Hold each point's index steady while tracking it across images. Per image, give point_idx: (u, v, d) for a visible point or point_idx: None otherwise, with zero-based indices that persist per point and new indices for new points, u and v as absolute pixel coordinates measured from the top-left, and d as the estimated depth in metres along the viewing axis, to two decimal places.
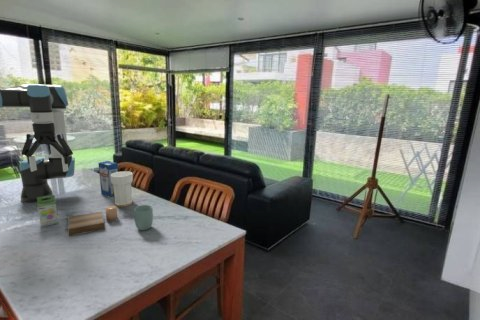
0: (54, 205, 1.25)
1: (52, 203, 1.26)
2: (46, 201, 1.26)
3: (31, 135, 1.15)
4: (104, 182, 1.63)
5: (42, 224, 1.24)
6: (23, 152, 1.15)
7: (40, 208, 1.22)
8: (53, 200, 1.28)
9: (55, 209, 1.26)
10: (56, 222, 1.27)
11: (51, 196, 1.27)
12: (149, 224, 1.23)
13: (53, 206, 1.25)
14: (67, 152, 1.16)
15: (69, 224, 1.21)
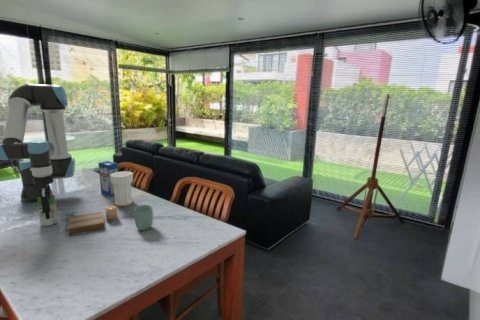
0: (54, 205, 1.25)
1: (52, 203, 1.26)
2: None
3: None
4: (104, 182, 1.63)
5: (42, 224, 1.24)
6: None
7: (40, 208, 1.22)
8: (53, 200, 1.28)
9: (55, 209, 1.26)
10: (56, 222, 1.27)
11: (51, 196, 1.27)
12: (149, 224, 1.23)
13: (53, 206, 1.25)
14: None
15: (69, 224, 1.21)
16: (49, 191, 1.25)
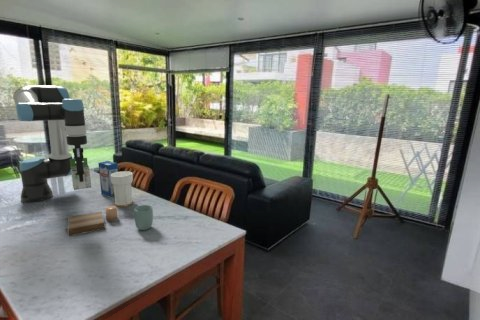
0: (87, 168, 1.20)
1: (85, 166, 1.21)
2: None
3: None
4: (104, 182, 1.63)
5: (75, 187, 1.19)
6: None
7: (73, 170, 1.17)
8: (86, 163, 1.23)
9: (88, 172, 1.21)
10: (89, 186, 1.22)
11: (84, 159, 1.22)
12: (149, 224, 1.23)
13: (86, 169, 1.20)
14: (77, 171, 1.15)
15: (69, 224, 1.21)
16: None
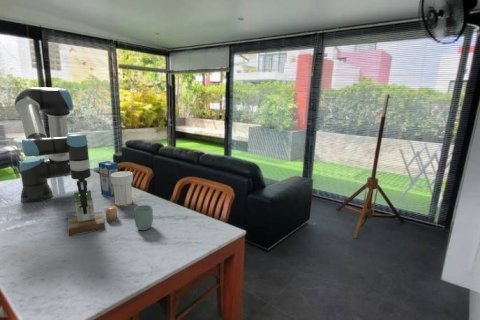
0: (91, 201, 1.23)
1: (89, 199, 1.24)
2: None
3: None
4: (104, 182, 1.63)
5: (79, 220, 1.22)
6: None
7: (77, 203, 1.20)
8: (89, 196, 1.26)
9: (92, 205, 1.24)
10: (92, 218, 1.25)
11: (87, 191, 1.25)
12: (149, 224, 1.23)
13: (90, 202, 1.23)
14: None
15: (69, 224, 1.21)
16: None
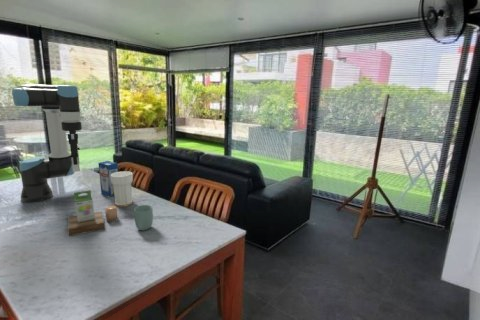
0: (91, 201, 1.24)
1: (89, 199, 1.24)
2: (83, 196, 1.25)
3: None
4: (104, 182, 1.63)
5: (79, 220, 1.22)
6: None
7: (77, 203, 1.21)
8: (89, 196, 1.26)
9: (92, 205, 1.24)
10: (92, 218, 1.25)
11: (87, 191, 1.25)
12: (149, 224, 1.23)
13: (90, 202, 1.23)
14: (71, 153, 1.14)
15: (69, 224, 1.21)
16: None
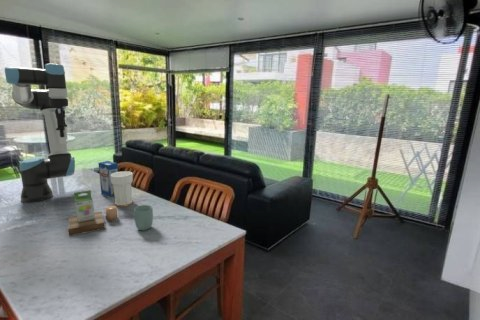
0: (91, 201, 1.24)
1: (89, 199, 1.24)
2: (83, 196, 1.25)
3: None
4: (104, 182, 1.63)
5: (79, 220, 1.22)
6: None
7: (77, 203, 1.21)
8: (89, 196, 1.26)
9: (92, 205, 1.24)
10: (92, 218, 1.25)
11: (87, 191, 1.25)
12: (149, 224, 1.23)
13: (90, 202, 1.23)
14: (57, 126, 1.24)
15: (69, 224, 1.21)
16: None
